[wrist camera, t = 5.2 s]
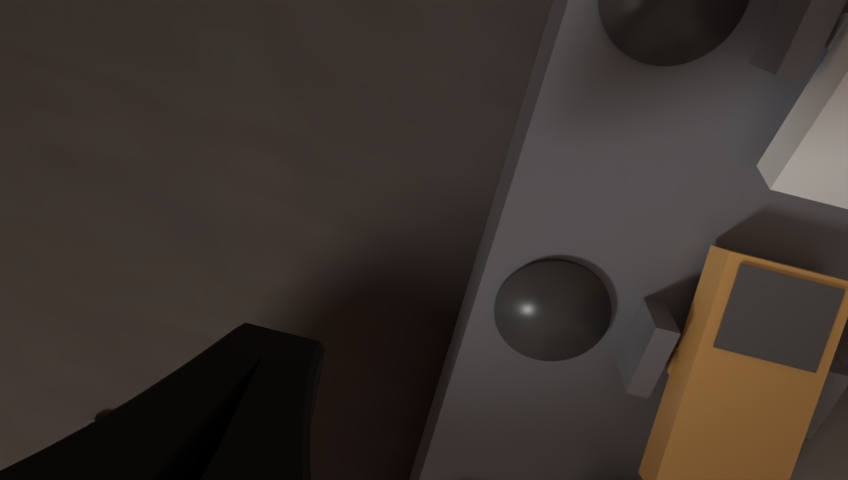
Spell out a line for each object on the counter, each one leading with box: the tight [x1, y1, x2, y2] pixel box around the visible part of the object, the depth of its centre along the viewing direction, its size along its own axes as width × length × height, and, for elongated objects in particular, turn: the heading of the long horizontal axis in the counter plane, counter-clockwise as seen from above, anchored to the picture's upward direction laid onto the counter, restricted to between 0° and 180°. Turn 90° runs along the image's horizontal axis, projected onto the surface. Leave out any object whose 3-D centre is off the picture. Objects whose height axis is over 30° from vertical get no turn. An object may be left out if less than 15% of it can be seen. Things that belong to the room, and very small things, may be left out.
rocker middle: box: [638, 245, 848, 480], centre depth 15 cm, size 6×3×2 cm, turn 167°
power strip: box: [409, 0, 848, 480], centre depth 17 cm, size 26×9×4 cm, turn 167°
